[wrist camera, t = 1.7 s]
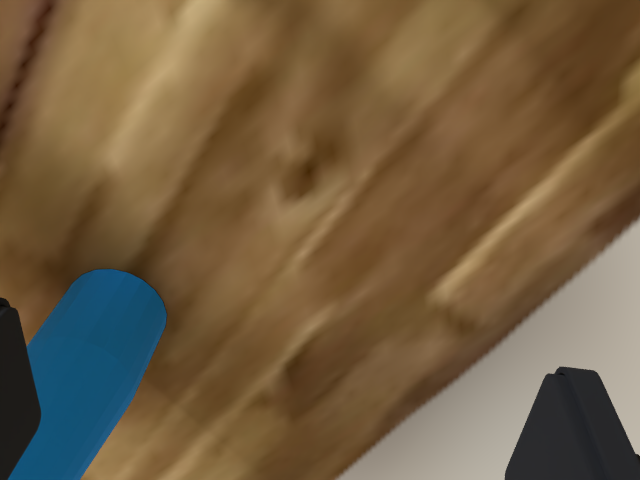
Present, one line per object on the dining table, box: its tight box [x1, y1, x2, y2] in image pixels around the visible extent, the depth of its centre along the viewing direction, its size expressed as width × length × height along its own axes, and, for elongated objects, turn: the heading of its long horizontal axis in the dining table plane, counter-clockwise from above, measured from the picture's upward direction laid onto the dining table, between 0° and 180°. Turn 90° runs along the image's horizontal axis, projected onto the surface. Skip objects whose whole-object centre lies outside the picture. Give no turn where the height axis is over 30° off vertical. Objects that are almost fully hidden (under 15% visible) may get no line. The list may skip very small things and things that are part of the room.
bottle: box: [8, 269, 167, 480], centre depth 30 cm, size 7×7×30 cm
